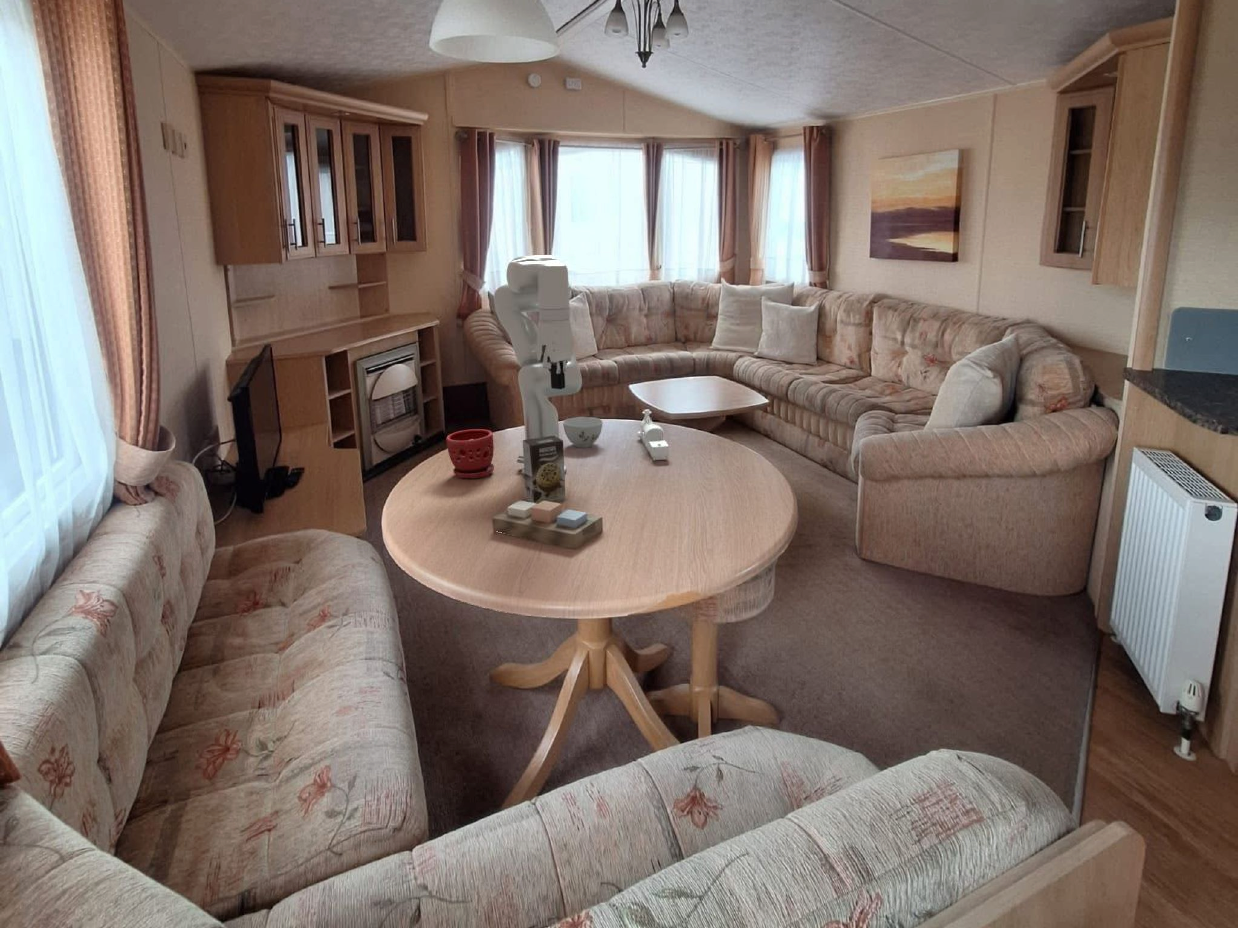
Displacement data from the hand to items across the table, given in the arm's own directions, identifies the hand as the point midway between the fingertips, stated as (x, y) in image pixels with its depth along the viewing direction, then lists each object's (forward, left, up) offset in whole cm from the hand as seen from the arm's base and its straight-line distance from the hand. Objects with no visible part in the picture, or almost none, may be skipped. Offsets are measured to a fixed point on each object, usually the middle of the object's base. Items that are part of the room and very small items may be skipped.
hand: (558, 388), depth 205 cm
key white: (+3, -22, -27) cm, 35 cm away
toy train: (+1, +49, -30) cm, 57 cm away
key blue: (+17, -22, -27) cm, 39 cm away
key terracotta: (+10, -22, -26) cm, 36 cm away
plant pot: (-34, +4, -29) cm, 45 cm away
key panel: (+10, -22, -29) cm, 38 cm away
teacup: (-21, +43, -29) cm, 56 cm away
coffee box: (-3, -4, -29) cm, 30 cm away
